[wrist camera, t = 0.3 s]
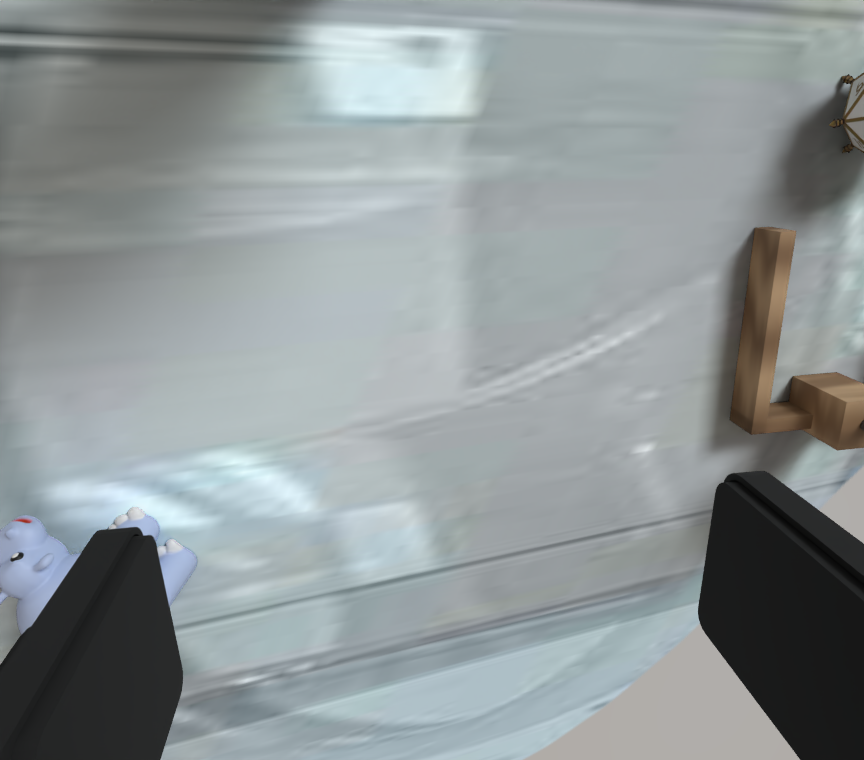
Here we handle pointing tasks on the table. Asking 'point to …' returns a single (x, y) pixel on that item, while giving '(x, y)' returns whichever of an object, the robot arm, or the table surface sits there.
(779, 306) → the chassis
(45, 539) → the hippopotamus toy
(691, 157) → the table surface
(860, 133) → the game die
